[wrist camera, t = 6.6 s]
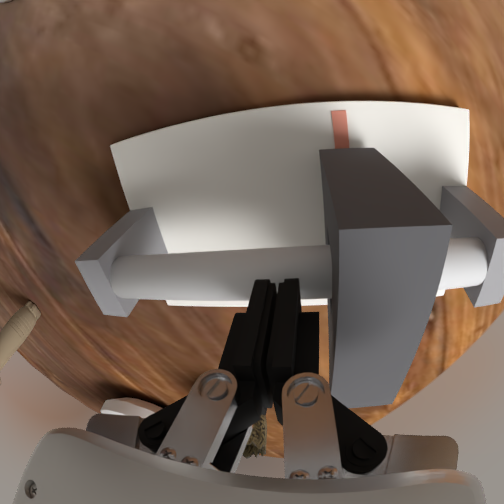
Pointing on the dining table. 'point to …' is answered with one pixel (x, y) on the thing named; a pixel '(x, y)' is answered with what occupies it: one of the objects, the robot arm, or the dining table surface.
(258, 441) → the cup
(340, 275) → the collar
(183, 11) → the dining table surface
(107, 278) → the pipe stand
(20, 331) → the handle
